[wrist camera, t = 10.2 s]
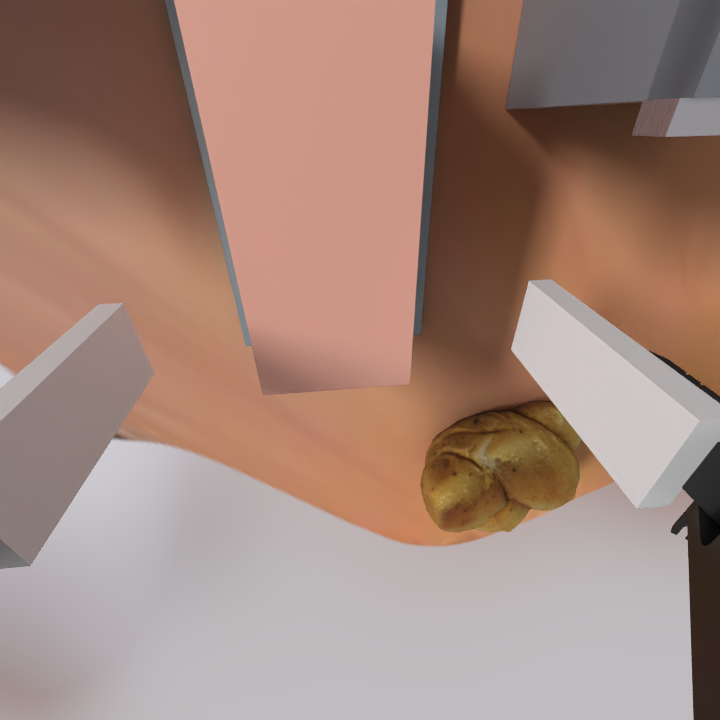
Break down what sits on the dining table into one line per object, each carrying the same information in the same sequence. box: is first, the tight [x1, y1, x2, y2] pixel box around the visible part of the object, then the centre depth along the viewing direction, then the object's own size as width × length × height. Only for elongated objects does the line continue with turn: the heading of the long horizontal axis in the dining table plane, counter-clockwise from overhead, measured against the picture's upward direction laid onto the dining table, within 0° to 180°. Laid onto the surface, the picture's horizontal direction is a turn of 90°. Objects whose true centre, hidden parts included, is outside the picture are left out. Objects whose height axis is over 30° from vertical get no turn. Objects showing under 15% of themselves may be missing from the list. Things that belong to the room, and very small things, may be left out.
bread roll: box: [421, 401, 582, 532], centre depth 27 cm, size 13×10×8 cm
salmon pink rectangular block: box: [174, 0, 436, 395], centre depth 14 cm, size 13×6×8 cm, turn 1°
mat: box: [165, 0, 448, 346], centre depth 18 cm, size 18×11×1 cm, turn 1°
